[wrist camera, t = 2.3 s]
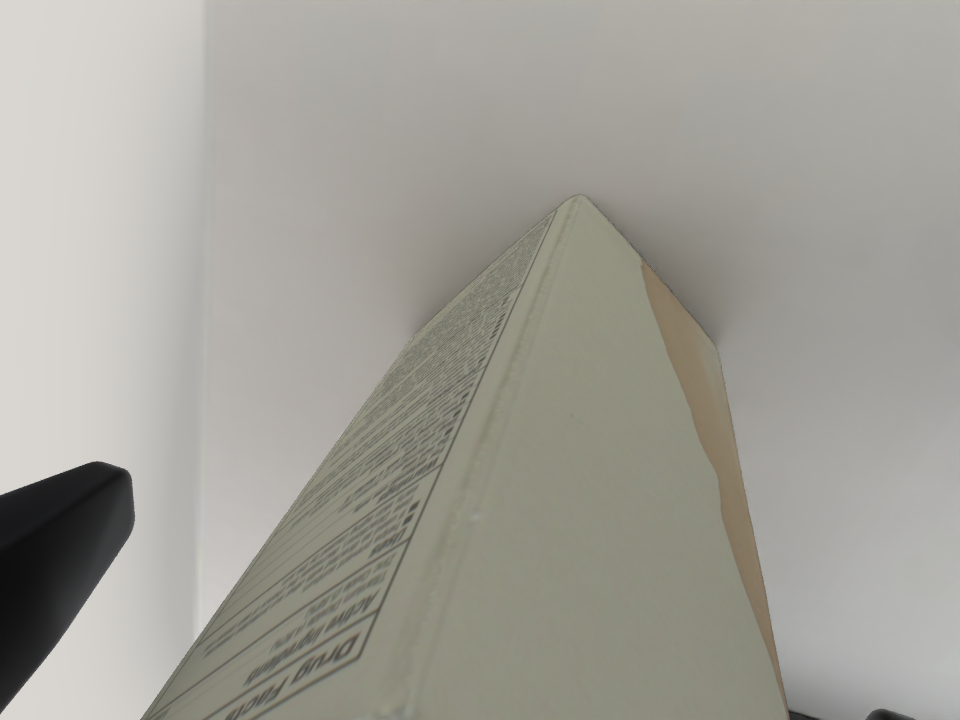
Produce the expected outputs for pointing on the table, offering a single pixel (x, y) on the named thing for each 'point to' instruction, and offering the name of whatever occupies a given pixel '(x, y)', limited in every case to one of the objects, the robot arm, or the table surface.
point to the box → (514, 522)
